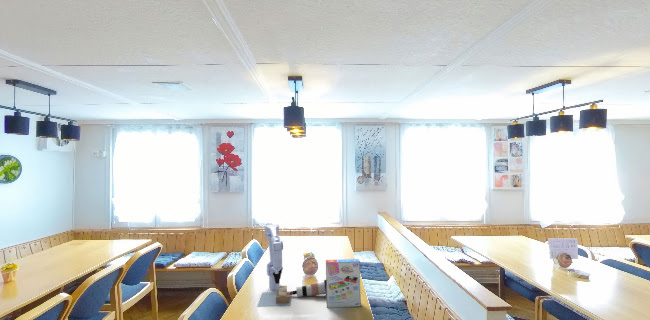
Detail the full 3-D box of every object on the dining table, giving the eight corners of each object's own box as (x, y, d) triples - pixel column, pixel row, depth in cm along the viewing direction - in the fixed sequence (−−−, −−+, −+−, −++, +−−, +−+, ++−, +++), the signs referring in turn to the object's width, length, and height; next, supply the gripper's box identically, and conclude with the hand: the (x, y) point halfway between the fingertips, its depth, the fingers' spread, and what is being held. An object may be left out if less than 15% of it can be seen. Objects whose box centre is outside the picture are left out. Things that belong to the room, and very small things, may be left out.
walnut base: (277, 298, 208) (277, 291, 208) (290, 297, 209) (289, 291, 209) (276, 303, 200) (275, 296, 200) (289, 303, 201) (289, 296, 201)
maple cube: (279, 292, 207) (279, 285, 207) (286, 292, 207) (286, 285, 207) (278, 295, 202) (278, 288, 202) (286, 295, 202) (286, 288, 202)
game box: (359, 303, 201) (359, 258, 201) (361, 307, 195) (360, 261, 196) (326, 304, 200) (325, 259, 200) (326, 308, 195) (325, 262, 195)
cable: (290, 302, 213) (288, 286, 218) (340, 294, 216) (338, 278, 220) (288, 301, 204) (287, 284, 209) (341, 293, 207) (339, 276, 211)
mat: (262, 293, 218) (262, 292, 218) (292, 292, 219) (292, 291, 219) (256, 307, 196) (256, 306, 196) (290, 306, 197) (290, 305, 197)
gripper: (272, 257, 220) (273, 277, 220) (270, 263, 205) (270, 285, 205) (283, 257, 220) (283, 277, 220) (281, 263, 205) (281, 285, 205)
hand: (277, 281), depth 212 cm, fingers open, 7 cm apart
